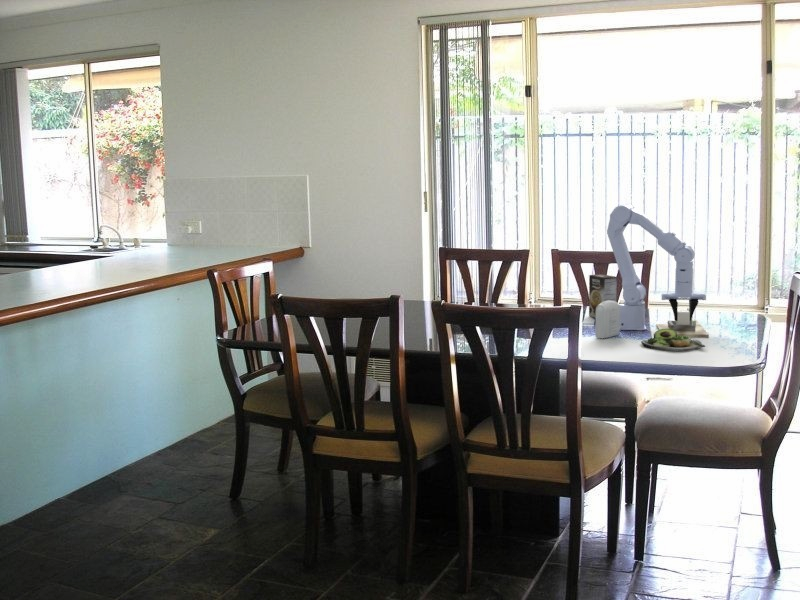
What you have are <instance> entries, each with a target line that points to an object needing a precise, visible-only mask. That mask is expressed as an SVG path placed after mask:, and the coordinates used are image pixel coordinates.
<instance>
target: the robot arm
mask: <svg viewBox="0 0 800 600" xmlns="http://www.w3.org/2000/svg"><path fill="white" fill-rule="evenodd" d="M628 225H637V226H639V227H641V228H642V229H643V230H645V231H646V232H648V233H649V234H650V235H652V236H653V237H654V238H655V239H656V240H657V241H656V242H657V245H658V246H660V247H661V248H662V249H663V250H664V251H666V252H667V253H668V254H669V255H671V257H673V258H674V261H675V262H676V263H675V264H676V265H675V278H674V279H675V282H674V283H675V284H674V285H675V286H674V287H675V288H674V293H672V292H671V293H661V297H660V299H661V301H668V302H669V303H670V307H671V310H672V312H673V313H672V314H673V317H674V318H673V319H674V321H677V310H678V308H679V307H678V306H679V302H678V301H685V300H686V301H688V308H689V312H690V321H692V317H694V316H693V315H694V313H695V310H696V308H697V306H698V304H699V301H706V300H707V294H706V293H693V290H694V289H693V286H694V284H693V283H694V282H693V281H694V268H693V267H694V264H693V263H694V261H693V260H694V258H695V251H694V248H693V247H692V246H690V245H687V243H686V242H685V241H684V242H682V241H681V239H679V238H678V237H677V236H676V233H675V232H670V231H663V230H662V229H661V228H660V227H659V226H658V225H657V224H656V223H654V222H653V220H651V219H650V218H649V217H648V216H647V215H646V214H644V213H643V212H642V211H641V210H640V209H638V208H635V206H633V205H632V204H629V203H625V204H623V205H622V204H620V205H617V206H615V207H614V209H613V210H612V211H611V213H610V214H609V221H608V226H607V229H606V234H607V237H608V239H609V240H608V241H609V243H610V246H611V249H612V252H613V255H614V258H615V261H616V264H617V266H618V270H619V273H620V276H621V279H622V282H621V283H622V284H621V285H622V291H623V292H622V299H623V300H624V301H623V303H618V304H619V306H620V316H619V331H621V330H622V331H647V327H646V325H645V316H646V313H645V312H646V302H645V300H644V299H645V298H646V296H647V290H646V289H647V288H646V287H645V285H643V284H642V282H641V280H640V278H639V277H638V274H637V273H636V269H635V267H634V264H633V260H632V257H631V254H630V251H629V248H628V246H627V243H626V240H625V236H624V231H625V230H626V227H628Z"/></svg>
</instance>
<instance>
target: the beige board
mask: <svg viewBox="0 0 800 600" xmlns="http://www.w3.org/2000/svg"><path fill="white" fill-rule="evenodd" d="M694 319H695V320H696V326H695V325H692V321H690V325H676V321H675V320H667V323H665V324H664V323H659V324H658V323H656V326H655V327H656V329H657V331H658V330H661V329H672V330H674V331H676V333H677V335H678V336H679V335H680V336H687V337H689V338H709V337H710V336H709V335H710V334H709V333H708V332H707V331H706V330H705V328H704V327H703V326H702V325H701V323H700V322H699V321H698V320H697V319H696V318H694Z"/></svg>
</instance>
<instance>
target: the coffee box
mask: <svg viewBox="0 0 800 600" xmlns="http://www.w3.org/2000/svg"><path fill="white" fill-rule="evenodd" d="M588 276H589V277H588V279H589V282H588V285H589V286H588V288H589V289H588V290H589V292H588V293H589V294H588V317H591V318H595V319H596V307H597V306H598V305H599V304H600V303H602V302H604V301H608V300H610V301H616V302H617V285H618V284H617V280H618V278H617V276H613V275H607V274H602V273H600V274H589V275H588Z"/></svg>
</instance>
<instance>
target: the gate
mask: <svg viewBox="0 0 800 600" xmlns="http://www.w3.org/2000/svg"><path fill="white" fill-rule="evenodd" d="M686 310H688V311H689V307H688V308H686ZM695 319H696V318H694V316H692V325H695V326H696V320H697V319H696V320H695Z"/></svg>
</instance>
